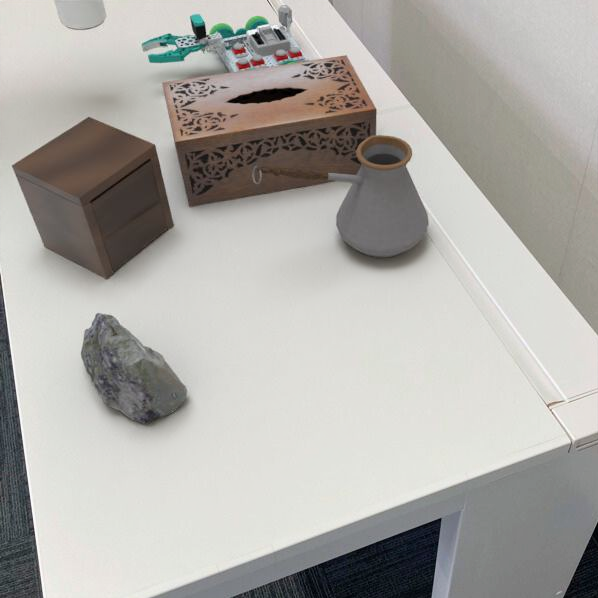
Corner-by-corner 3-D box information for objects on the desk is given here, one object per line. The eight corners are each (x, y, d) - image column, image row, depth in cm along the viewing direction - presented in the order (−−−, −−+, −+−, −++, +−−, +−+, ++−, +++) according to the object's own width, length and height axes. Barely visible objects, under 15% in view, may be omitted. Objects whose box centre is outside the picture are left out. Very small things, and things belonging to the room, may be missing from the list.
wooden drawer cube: (44, 246, 97) (11, 165, 88) (112, 196, 104) (88, 116, 94) (106, 279, 93) (79, 198, 84) (174, 225, 100) (155, 144, 90)
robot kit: (140, 62, 127) (128, 6, 120) (283, 33, 133) (279, -23, 126) (168, 120, 116) (156, 62, 109) (323, 85, 122) (321, 27, 115)
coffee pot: (403, 200, 103) (408, 98, 91) (442, 253, 96) (454, 150, 84) (250, 241, 97) (236, 139, 86) (280, 301, 90) (269, 198, 79)
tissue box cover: (347, 118, 116) (346, 55, 108) (375, 173, 106) (376, 109, 99) (175, 146, 111) (161, 82, 104) (189, 206, 102) (175, 141, 94)
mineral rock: (86, 344, 86) (60, 278, 79) (183, 329, 88) (166, 263, 80) (84, 437, 78) (54, 374, 70) (191, 419, 79) (173, 355, 72)
